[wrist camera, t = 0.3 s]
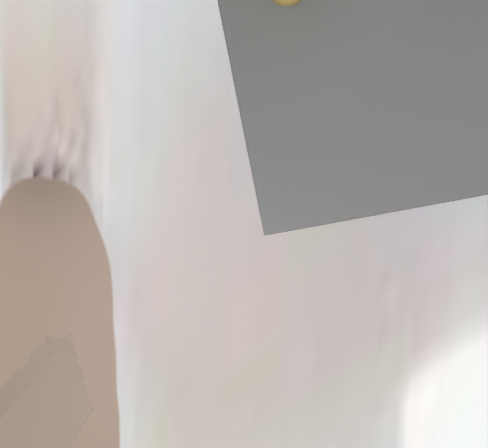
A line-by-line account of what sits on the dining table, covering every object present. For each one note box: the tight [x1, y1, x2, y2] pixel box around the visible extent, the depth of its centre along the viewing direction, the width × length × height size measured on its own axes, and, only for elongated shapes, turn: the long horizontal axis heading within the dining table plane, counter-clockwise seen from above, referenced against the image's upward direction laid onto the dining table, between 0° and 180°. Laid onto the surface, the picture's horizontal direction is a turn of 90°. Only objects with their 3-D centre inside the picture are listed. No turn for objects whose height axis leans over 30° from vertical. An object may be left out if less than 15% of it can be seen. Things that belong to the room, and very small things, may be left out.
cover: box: [218, 0, 488, 236], centre depth 21 cm, size 22×19×5 cm
